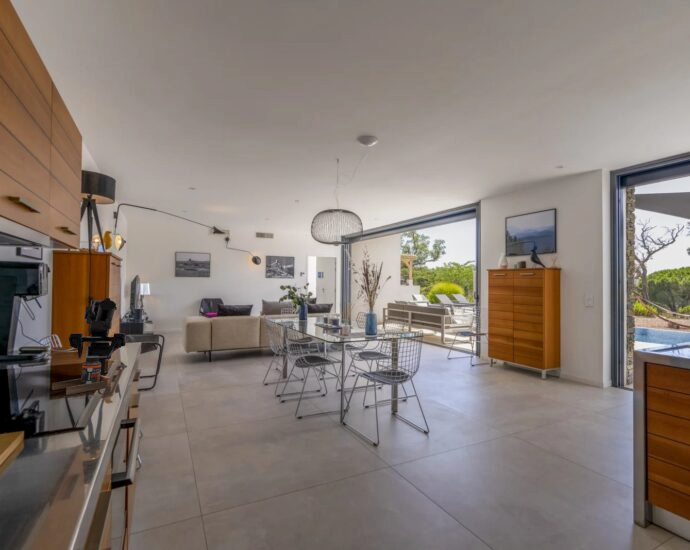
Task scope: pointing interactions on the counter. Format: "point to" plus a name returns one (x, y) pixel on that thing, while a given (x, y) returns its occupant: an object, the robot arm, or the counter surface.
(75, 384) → the comb channel
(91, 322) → the robot arm
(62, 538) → the counter surface
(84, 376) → the supplement bottle
